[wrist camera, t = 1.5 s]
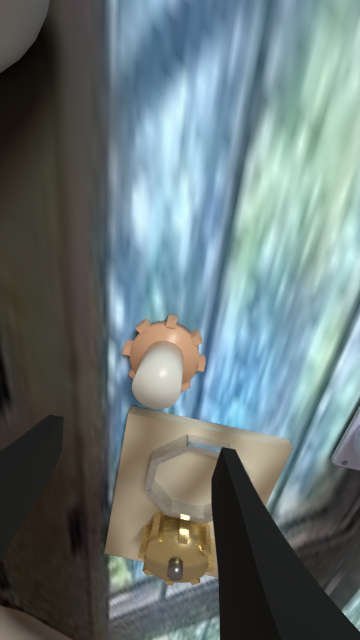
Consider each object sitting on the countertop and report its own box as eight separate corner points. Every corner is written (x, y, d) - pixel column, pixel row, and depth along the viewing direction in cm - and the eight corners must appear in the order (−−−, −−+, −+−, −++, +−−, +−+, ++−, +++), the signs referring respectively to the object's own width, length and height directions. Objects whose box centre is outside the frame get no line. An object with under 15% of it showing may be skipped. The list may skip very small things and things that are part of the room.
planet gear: (214, 324, 20) (218, 355, 15) (195, 392, 22) (194, 438, 17) (132, 306, 20) (112, 332, 15) (122, 376, 22) (101, 418, 17)
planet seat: (257, 448, 22) (261, 460, 21) (230, 515, 25) (231, 529, 24) (158, 427, 22) (156, 438, 21) (142, 497, 25) (139, 509, 24)
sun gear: (221, 518, 25) (224, 560, 22) (203, 562, 28) (204, 606, 25) (149, 503, 25) (141, 543, 22) (138, 548, 28) (130, 590, 25)
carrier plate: (288, 439, 23) (292, 448, 22) (229, 568, 30) (230, 580, 29) (130, 405, 23) (127, 413, 22) (107, 543, 29) (104, 553, 28)
